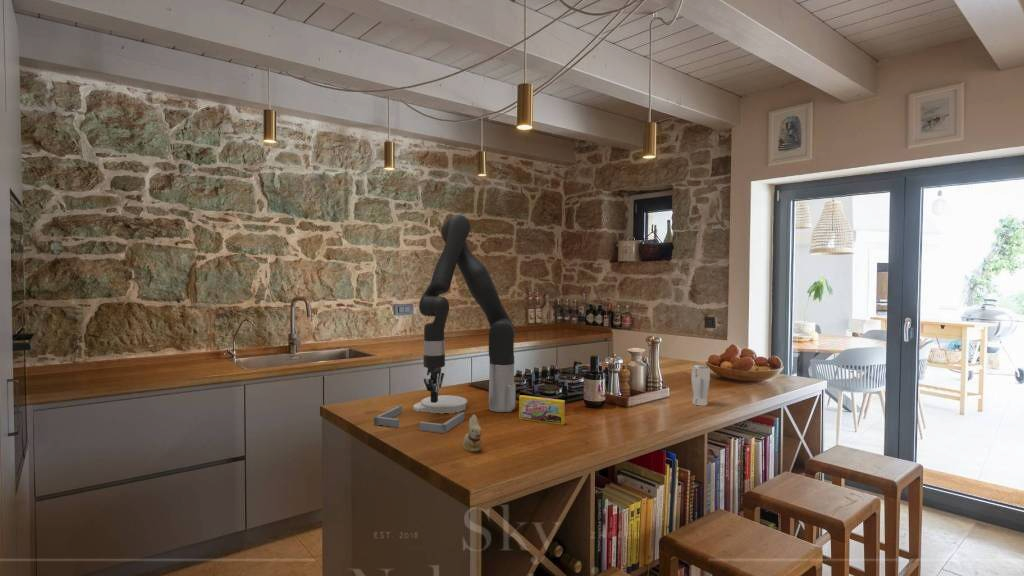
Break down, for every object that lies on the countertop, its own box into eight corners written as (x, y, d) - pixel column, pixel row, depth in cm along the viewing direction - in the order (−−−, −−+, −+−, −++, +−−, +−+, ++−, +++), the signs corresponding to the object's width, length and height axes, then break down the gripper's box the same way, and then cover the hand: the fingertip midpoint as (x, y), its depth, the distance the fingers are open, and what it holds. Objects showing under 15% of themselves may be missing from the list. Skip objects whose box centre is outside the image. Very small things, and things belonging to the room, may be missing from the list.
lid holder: (464, 419, 184) (464, 412, 184) (444, 433, 168) (444, 425, 168) (398, 412, 192) (398, 405, 191) (374, 424, 176) (374, 417, 176)
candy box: (518, 419, 186) (518, 396, 186) (520, 418, 188) (520, 394, 188) (562, 425, 180) (563, 401, 180) (564, 423, 182) (565, 399, 182)
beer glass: (710, 403, 213) (711, 366, 212) (706, 407, 207) (707, 369, 206) (692, 401, 217) (694, 364, 216) (688, 404, 211) (689, 367, 210)
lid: (412, 403, 206) (412, 396, 206) (464, 402, 210) (464, 394, 210) (413, 416, 189) (413, 407, 189) (469, 414, 193) (470, 405, 193)
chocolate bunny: (461, 452, 151) (461, 417, 151) (463, 443, 159) (464, 410, 159) (480, 453, 151) (481, 418, 151) (482, 444, 159) (482, 410, 159)
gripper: (436, 356, 180) (436, 407, 180) (451, 350, 193) (451, 398, 193) (416, 355, 182) (416, 406, 182) (431, 350, 195) (432, 397, 195)
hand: (434, 402), depth 188 cm, fingers closed
